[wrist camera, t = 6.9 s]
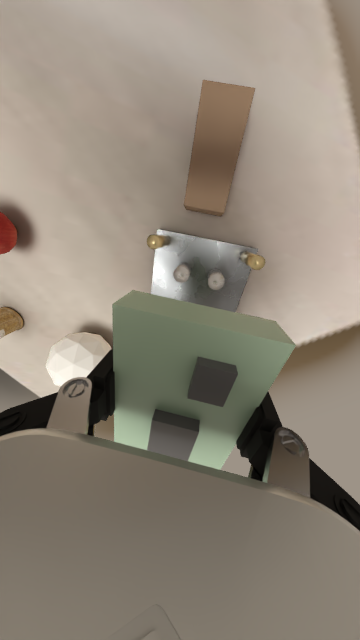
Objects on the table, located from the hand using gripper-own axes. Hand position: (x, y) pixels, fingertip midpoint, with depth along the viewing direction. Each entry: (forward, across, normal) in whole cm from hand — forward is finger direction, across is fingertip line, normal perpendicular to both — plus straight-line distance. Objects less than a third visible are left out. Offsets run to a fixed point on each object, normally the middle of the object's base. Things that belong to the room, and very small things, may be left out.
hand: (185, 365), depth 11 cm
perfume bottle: (+14, +16, +14) cm, 25 cm away
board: (-1, 0, 0) cm, 1 cm away
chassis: (+14, 0, 0) cm, 14 cm away
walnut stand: (+14, +2, -14) cm, 20 cm away
